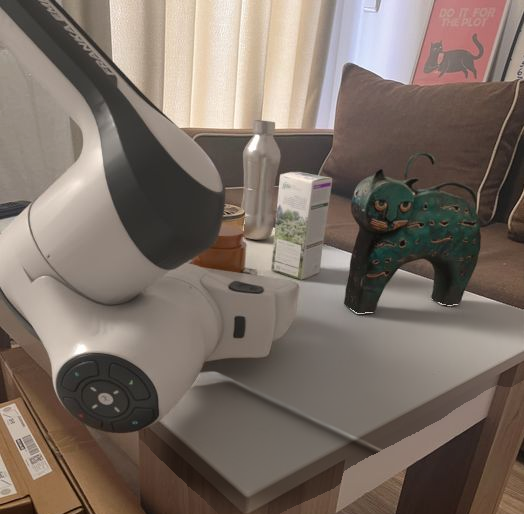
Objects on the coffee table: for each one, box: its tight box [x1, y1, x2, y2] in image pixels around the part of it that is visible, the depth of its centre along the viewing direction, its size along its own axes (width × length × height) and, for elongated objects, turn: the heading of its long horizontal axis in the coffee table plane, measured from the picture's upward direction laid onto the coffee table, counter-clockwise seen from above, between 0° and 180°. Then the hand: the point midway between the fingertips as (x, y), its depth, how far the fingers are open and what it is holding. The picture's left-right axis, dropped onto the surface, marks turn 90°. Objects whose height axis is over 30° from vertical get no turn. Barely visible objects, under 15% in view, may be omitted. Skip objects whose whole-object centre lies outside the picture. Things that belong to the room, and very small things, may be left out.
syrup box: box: [270, 171, 333, 280], centre depth 78 cm, size 6×6×14 cm
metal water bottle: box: [240, 119, 282, 241], centre depth 92 cm, size 6×7×20 cm
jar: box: [191, 224, 247, 273], centre depth 61 cm, size 6×6×10 cm
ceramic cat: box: [343, 151, 482, 313], centre depth 68 cm, size 20×6×20 cm, turn 112°
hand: (219, 270), depth 61 cm, fingers closed on jar, 6 cm apart
